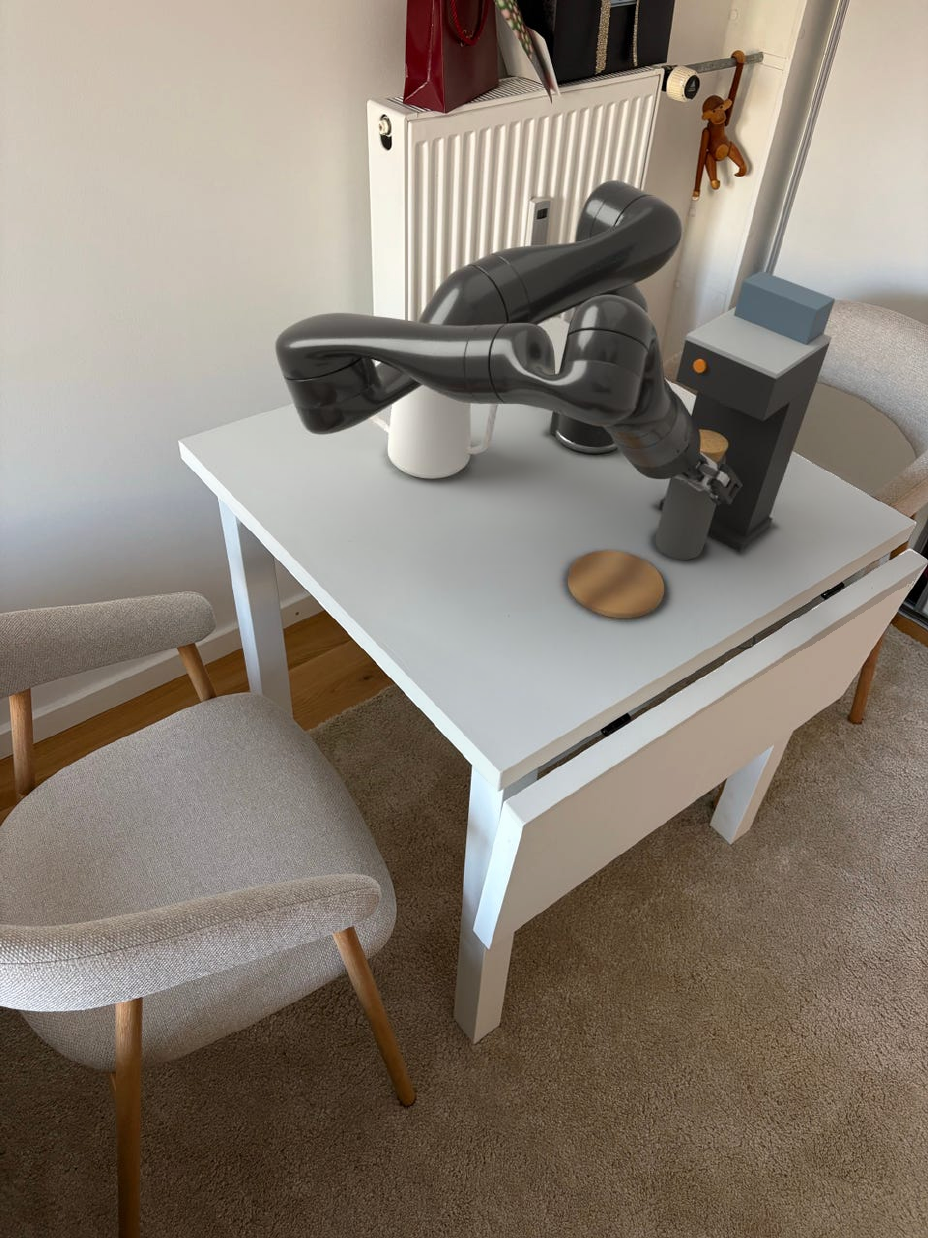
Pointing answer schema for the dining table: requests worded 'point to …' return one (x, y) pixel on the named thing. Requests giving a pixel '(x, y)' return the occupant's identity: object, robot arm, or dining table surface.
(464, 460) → the coffeepot
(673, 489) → the bottle
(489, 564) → the dining table surface
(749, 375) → the coffee maker
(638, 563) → the disc
